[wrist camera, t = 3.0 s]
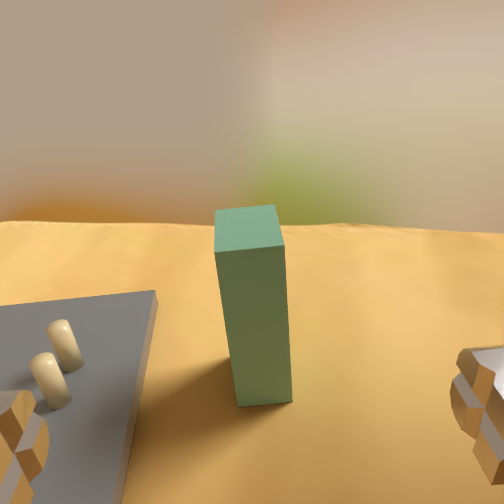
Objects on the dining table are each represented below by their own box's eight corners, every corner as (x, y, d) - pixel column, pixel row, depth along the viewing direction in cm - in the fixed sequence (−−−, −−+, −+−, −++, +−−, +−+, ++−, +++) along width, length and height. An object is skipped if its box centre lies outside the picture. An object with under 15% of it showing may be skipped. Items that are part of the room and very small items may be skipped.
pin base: (157, 302, 33) (146, 254, 31) (114, 535, 19) (87, 479, 17) (-34, 323, 33) (-60, 276, 30) (-214, 571, 19) (-284, 519, 17)
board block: (283, 349, 28) (274, 204, 22) (292, 401, 24) (284, 245, 19) (235, 354, 28) (214, 210, 22) (237, 407, 24) (214, 252, 19)
